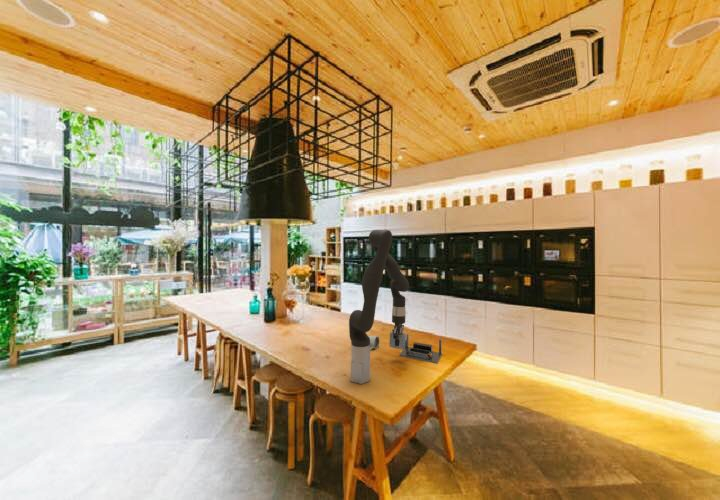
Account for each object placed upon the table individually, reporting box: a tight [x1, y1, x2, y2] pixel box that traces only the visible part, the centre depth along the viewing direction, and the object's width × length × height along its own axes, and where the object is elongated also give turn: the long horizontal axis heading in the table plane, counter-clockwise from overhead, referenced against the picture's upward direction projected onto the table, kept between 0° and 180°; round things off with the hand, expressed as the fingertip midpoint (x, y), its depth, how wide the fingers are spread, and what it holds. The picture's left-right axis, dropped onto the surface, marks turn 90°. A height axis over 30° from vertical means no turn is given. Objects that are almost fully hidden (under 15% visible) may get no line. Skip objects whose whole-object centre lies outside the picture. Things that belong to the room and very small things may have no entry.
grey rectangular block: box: [389, 331, 408, 351], centre depth 151 cm, size 3×9×8 cm, turn 63°
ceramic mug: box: [367, 334, 380, 351], centre depth 171 cm, size 11×8×8 cm
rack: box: [398, 333, 443, 364], centre depth 160 cm, size 14×22×9 cm, turn 63°
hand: (397, 344), depth 151 cm, fingers closed on grey rectangular block, 3 cm apart
